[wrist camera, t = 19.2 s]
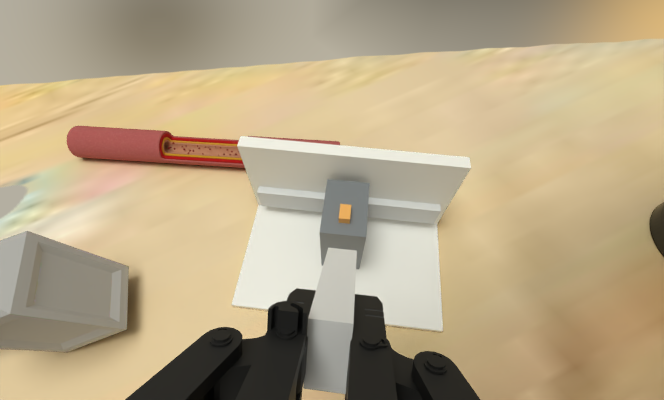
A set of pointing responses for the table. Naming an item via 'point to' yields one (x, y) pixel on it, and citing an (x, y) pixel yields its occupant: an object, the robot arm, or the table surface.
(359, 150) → the rail panel
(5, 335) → the grey angled piece
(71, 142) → the blood vessel
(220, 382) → the robot arm
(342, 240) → the block
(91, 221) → the table surface
